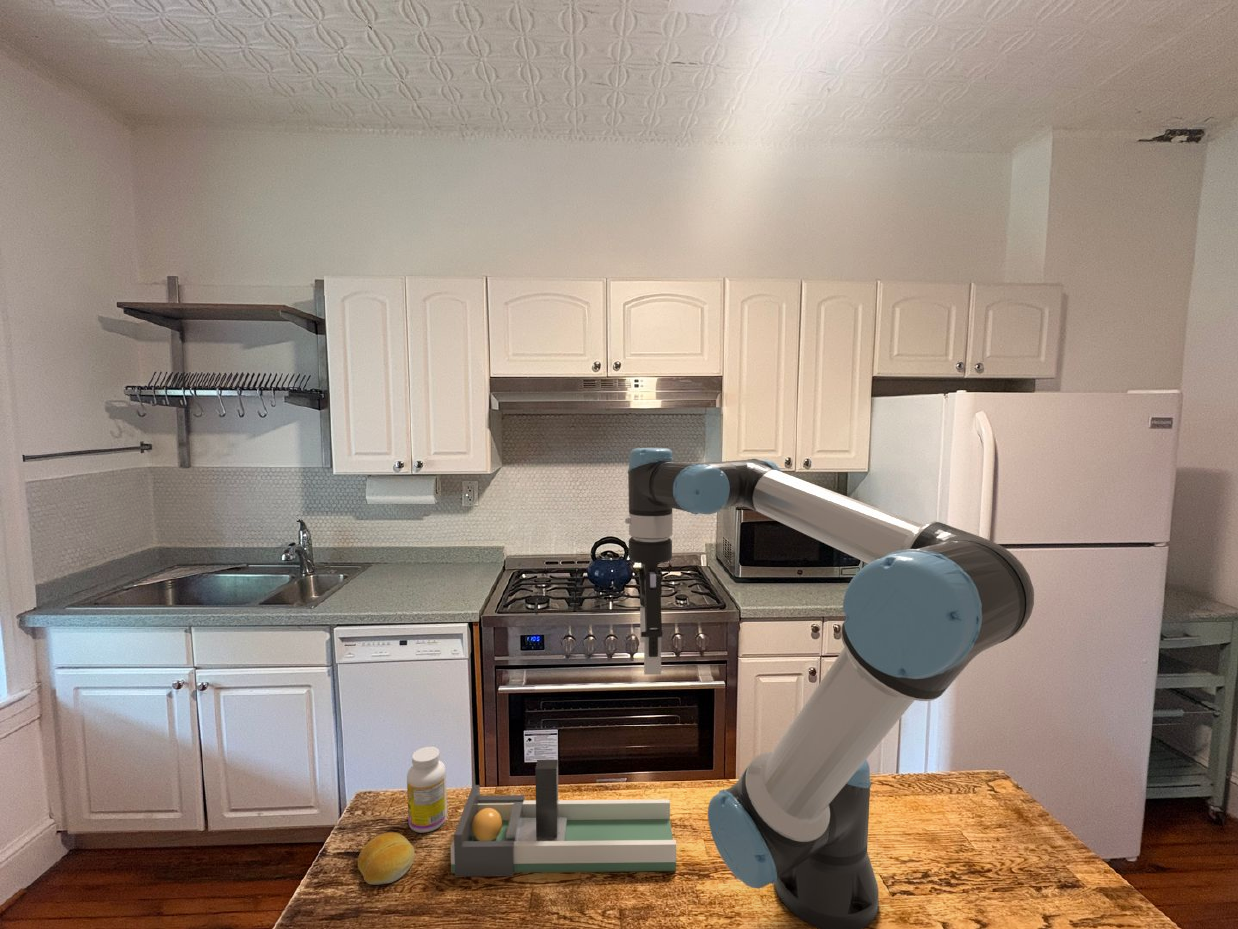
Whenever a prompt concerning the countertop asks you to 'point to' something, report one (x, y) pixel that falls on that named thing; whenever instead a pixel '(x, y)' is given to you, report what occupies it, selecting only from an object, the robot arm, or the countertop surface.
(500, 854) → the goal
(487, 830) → the ball
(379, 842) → the bread roll
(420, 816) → the supplement bottle
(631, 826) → the board
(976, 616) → the robot arm
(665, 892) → the countertop surface
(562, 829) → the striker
